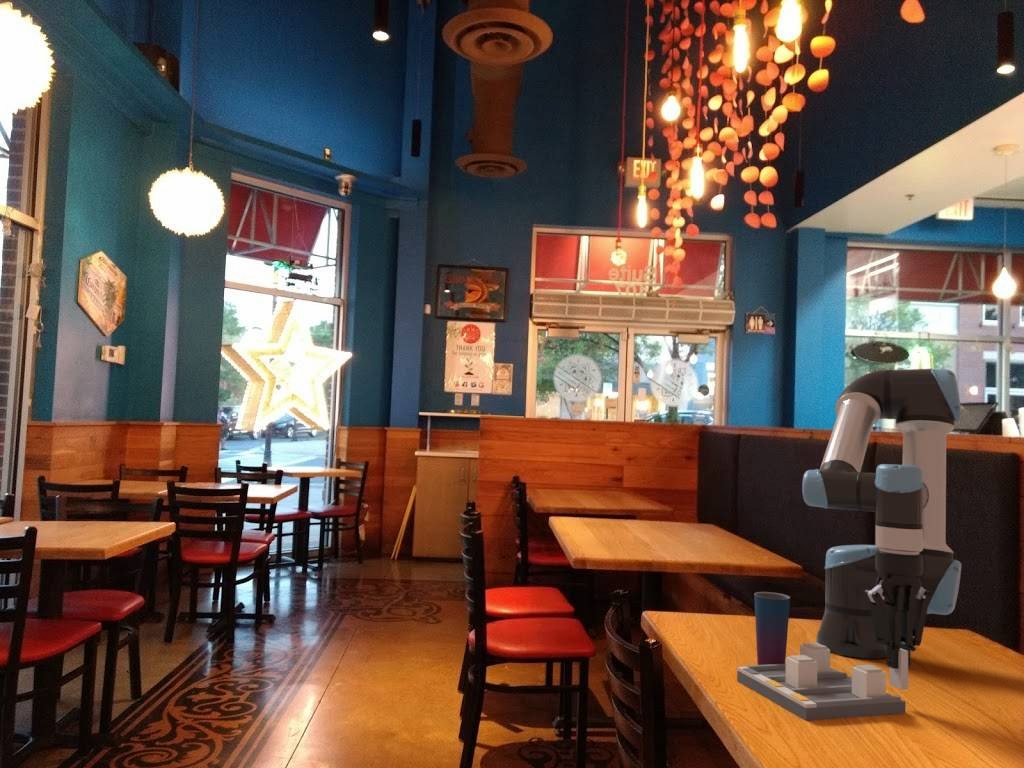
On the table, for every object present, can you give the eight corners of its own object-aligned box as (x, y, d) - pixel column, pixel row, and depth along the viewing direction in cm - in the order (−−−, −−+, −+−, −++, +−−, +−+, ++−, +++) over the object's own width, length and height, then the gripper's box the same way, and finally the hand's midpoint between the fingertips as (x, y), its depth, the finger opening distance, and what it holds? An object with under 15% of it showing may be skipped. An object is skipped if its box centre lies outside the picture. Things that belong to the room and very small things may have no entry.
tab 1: (817, 667, 144) (817, 642, 144) (829, 673, 140) (830, 647, 141) (799, 668, 143) (800, 642, 143) (811, 674, 139) (812, 648, 140)
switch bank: (826, 676, 146) (826, 661, 146) (905, 713, 126) (905, 696, 127) (737, 681, 140) (737, 665, 140) (806, 720, 121) (806, 703, 121)
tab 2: (870, 692, 130) (870, 663, 131) (885, 699, 127) (885, 669, 127) (851, 693, 129) (851, 664, 130) (866, 700, 126) (866, 671, 126)
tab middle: (804, 681, 135) (804, 654, 135) (817, 688, 131) (817, 659, 132) (785, 682, 134) (785, 655, 134) (797, 689, 130) (798, 660, 131)
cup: (791, 679, 143) (792, 600, 144) (754, 675, 144) (756, 597, 145) (786, 668, 149) (787, 593, 150) (751, 665, 151) (752, 590, 152)
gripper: (911, 547, 137) (911, 678, 135) (853, 547, 133) (852, 681, 132) (945, 554, 130) (946, 691, 128) (884, 554, 126) (884, 695, 124)
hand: (898, 686), depth 130 cm, fingers closed
